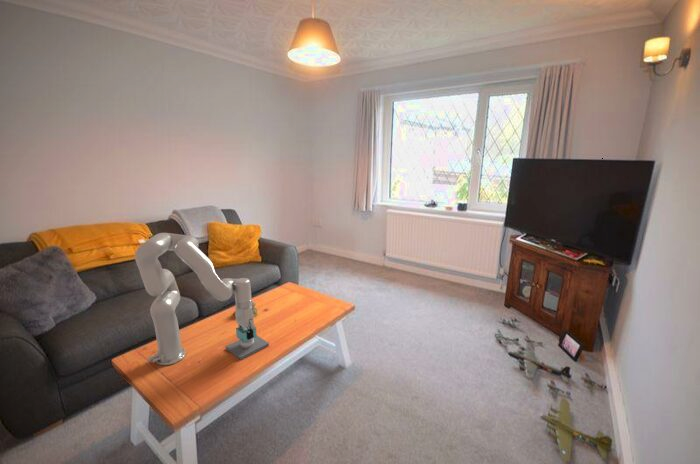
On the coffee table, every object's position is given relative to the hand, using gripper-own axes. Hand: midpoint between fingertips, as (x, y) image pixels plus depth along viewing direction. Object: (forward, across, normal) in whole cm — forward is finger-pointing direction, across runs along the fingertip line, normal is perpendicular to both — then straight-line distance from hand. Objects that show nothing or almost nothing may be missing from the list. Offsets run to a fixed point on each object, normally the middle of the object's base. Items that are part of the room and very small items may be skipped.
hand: (246, 335), depth 159 cm
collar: (+1, 0, 0) cm, 1 cm away
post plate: (+7, 0, 0) cm, 7 cm away
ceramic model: (+7, -32, +18) cm, 38 cm away
